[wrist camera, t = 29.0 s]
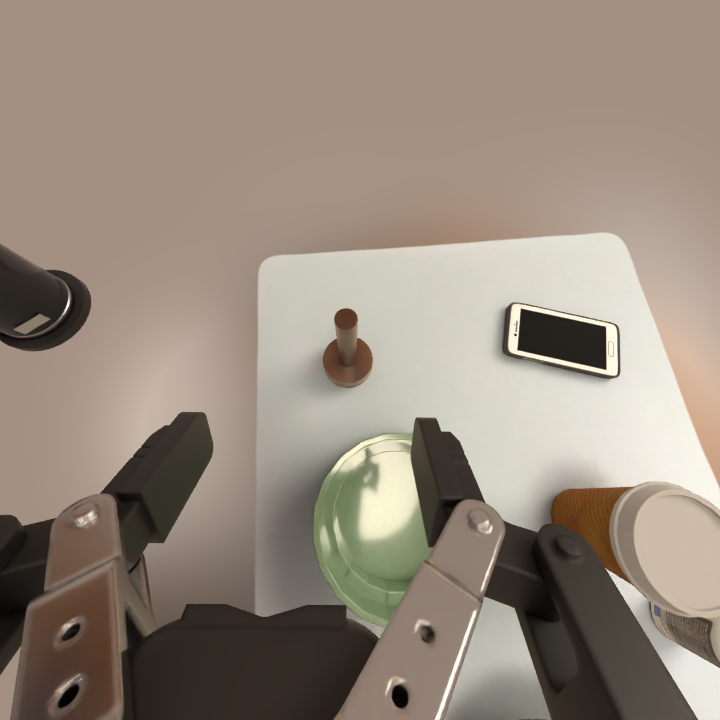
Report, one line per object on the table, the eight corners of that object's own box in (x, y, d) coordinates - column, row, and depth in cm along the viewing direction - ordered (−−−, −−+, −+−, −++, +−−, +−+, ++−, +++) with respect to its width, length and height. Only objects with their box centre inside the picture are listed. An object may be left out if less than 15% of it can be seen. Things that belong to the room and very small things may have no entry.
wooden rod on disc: (331, 393, 38) (320, 360, 25) (319, 349, 40) (303, 297, 27) (377, 380, 39) (390, 341, 26) (363, 337, 41) (369, 280, 27)
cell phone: (615, 380, 39) (621, 378, 38) (501, 355, 40) (505, 352, 39) (614, 326, 42) (620, 324, 41) (506, 303, 42) (510, 300, 41)
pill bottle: (678, 652, 31) (791, 721, 23) (640, 610, 32) (735, 661, 24) (703, 617, 32) (820, 670, 24) (665, 576, 33) (766, 615, 25)
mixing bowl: (343, 619, 31) (341, 660, 25) (305, 460, 36) (295, 462, 30) (487, 565, 33) (518, 591, 27) (433, 420, 38) (449, 413, 31)
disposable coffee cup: (604, 586, 33) (740, 658, 21) (523, 531, 34) (609, 571, 23) (633, 505, 35) (768, 530, 24) (556, 457, 37) (649, 458, 25)
